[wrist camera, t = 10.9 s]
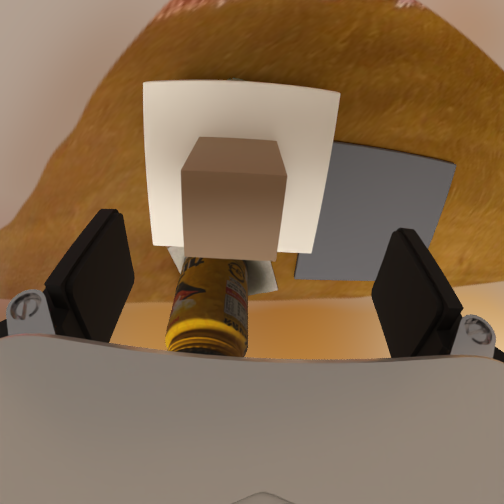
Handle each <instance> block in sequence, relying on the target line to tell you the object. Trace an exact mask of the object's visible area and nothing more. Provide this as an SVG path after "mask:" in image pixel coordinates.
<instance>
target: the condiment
mask: <svg viewBox="0 0 504 504" xmlns="http://www.w3.org/2000/svg"><path fill="white" fill-rule="evenodd" d="M168 250H169V252H170V254H171V256H172V258H173V260H174V262H175V264H176V266H177V268H178V270H179V272H180V278H179V281H178V285H177V288H176V294H175V298H174V302H173V306H172V310H171V314H170V319H169V323H168V326H167V333H166V336H165V337H166V338H165V343H166V346H167V348H168V350H167V351H174V352H183V353H193V354H205V355H217V356H230V357H244V356H245V354H246V352H247V348H248V295H254V294H258V293H266V292H271V291H276V290H278V288H277V284H276V280H275V276H274V273H273V269H272V266H271V262H270V261H258V260H239V259H219V258H201V257H185V256H184V247H177V246H172V247H169V248H168Z"/></svg>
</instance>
